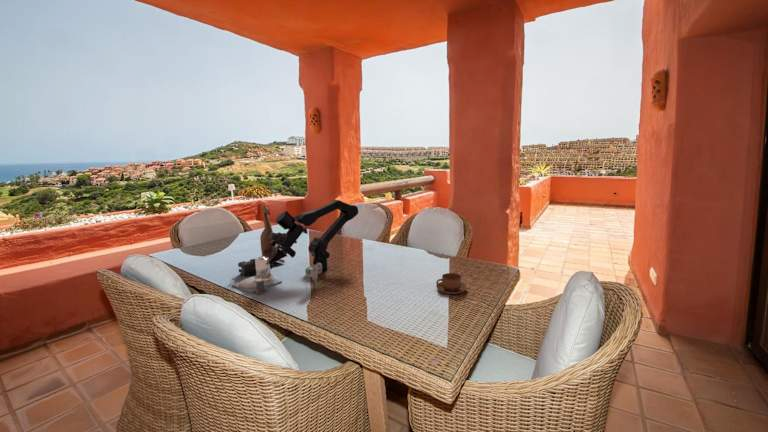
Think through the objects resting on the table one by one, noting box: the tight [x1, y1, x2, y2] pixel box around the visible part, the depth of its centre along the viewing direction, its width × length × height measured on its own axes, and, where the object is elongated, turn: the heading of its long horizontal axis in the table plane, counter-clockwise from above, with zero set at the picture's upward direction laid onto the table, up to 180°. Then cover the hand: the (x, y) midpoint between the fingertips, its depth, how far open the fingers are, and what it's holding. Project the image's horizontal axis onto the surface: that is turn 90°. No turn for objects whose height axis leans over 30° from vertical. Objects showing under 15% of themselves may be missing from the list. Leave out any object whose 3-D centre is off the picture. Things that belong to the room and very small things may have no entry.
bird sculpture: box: [259, 203, 286, 263], centre depth 178 cm, size 11×12×32 cm
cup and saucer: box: [435, 272, 467, 295], centre depth 139 cm, size 12×12×6 cm
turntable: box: [231, 275, 283, 294], centre depth 152 cm, size 15×15×2 cm
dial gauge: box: [254, 277, 268, 296], centre depth 142 cm, size 4×4×6 cm
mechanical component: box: [304, 263, 323, 290], centre depth 144 cm, size 3×10×10 cm, turn 161°
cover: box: [254, 255, 274, 282], centre depth 153 cm, size 8×8×10 cm
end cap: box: [237, 258, 256, 278], centre depth 166 cm, size 10×7×7 cm
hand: (270, 263), depth 155 cm, fingers closed
